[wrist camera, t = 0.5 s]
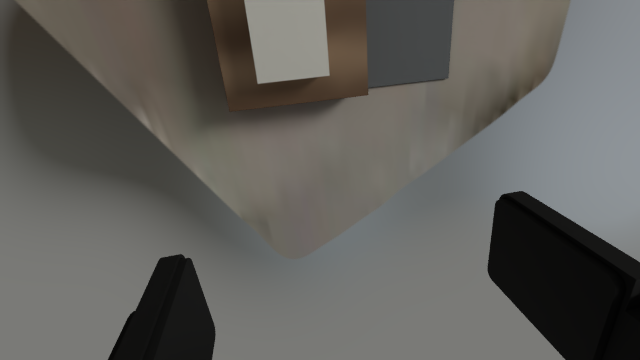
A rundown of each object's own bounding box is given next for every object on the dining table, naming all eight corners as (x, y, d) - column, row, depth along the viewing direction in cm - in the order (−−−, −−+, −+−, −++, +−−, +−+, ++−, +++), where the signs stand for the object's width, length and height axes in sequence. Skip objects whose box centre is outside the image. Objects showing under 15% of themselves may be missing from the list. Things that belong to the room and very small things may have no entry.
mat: (351, -74, 29) (351, -75, 29) (458, -81, 30) (460, -82, 30) (357, 88, 35) (358, 88, 35) (446, 77, 36) (448, 78, 36)
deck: (200, -64, 28) (190, -78, 24) (351, -74, 29) (363, -89, 26) (233, 103, 34) (229, 111, 30) (357, 88, 35) (368, 94, 32)
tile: (238, -41, 26) (236, -47, 23) (315, -46, 26) (320, -54, 24) (258, 79, 29) (257, 83, 27) (324, 72, 30) (329, 75, 28)
